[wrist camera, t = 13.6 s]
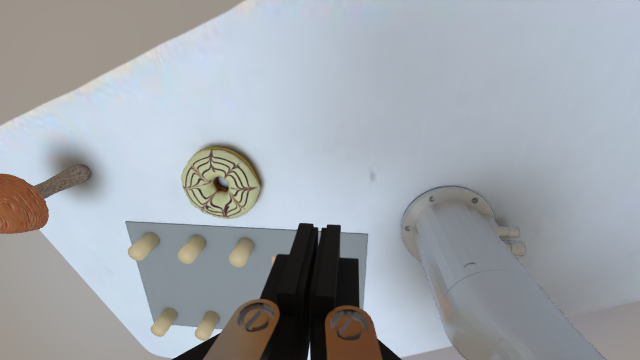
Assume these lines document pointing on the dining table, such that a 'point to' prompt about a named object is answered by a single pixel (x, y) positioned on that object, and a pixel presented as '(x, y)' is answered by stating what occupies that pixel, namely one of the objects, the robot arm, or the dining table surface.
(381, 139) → the dining table surface
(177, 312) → the spacer board
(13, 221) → the mushroom
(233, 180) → the decorated donut
